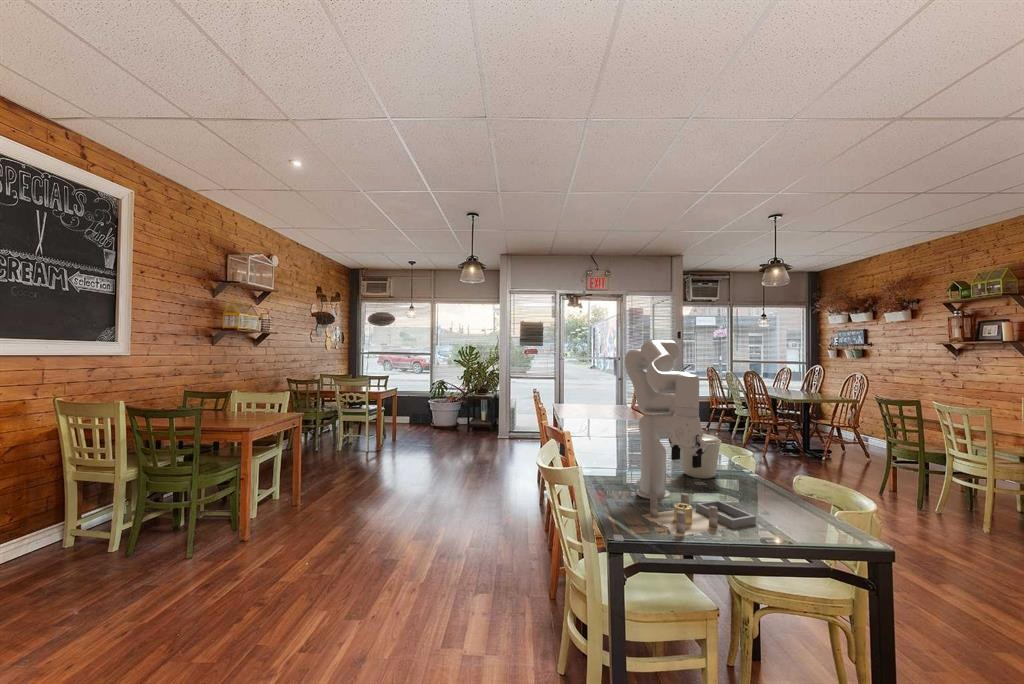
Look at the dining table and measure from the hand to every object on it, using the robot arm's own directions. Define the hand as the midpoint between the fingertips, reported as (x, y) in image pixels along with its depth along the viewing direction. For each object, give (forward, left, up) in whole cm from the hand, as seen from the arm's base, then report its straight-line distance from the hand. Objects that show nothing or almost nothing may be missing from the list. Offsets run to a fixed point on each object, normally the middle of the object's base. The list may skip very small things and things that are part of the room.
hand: (685, 463), depth 153 cm
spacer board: (-1, 0, -20) cm, 20 cm away
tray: (+1, +16, -20) cm, 26 cm away
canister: (-42, +45, -21) cm, 64 cm away
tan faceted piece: (-1, 0, -19) cm, 19 cm away
